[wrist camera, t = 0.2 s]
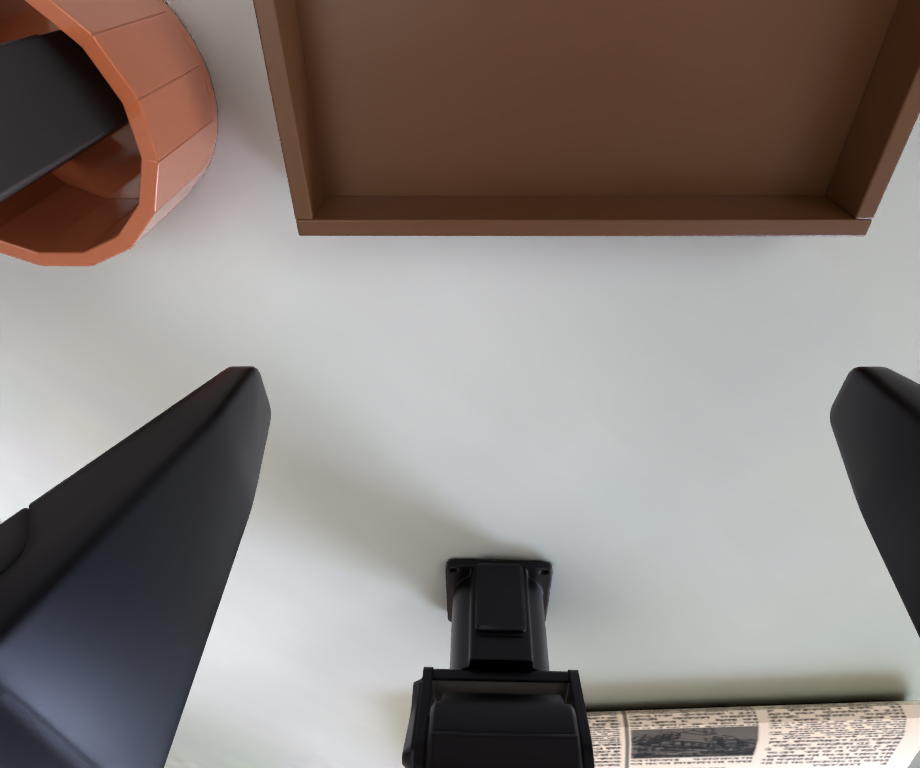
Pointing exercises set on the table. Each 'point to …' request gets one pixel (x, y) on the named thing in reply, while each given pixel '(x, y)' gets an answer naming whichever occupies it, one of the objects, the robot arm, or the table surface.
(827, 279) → the table surface
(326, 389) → the table surface
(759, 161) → the tray
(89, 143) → the dark grey block
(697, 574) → the table surface
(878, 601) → the table surface
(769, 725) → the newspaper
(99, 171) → the holder cup
